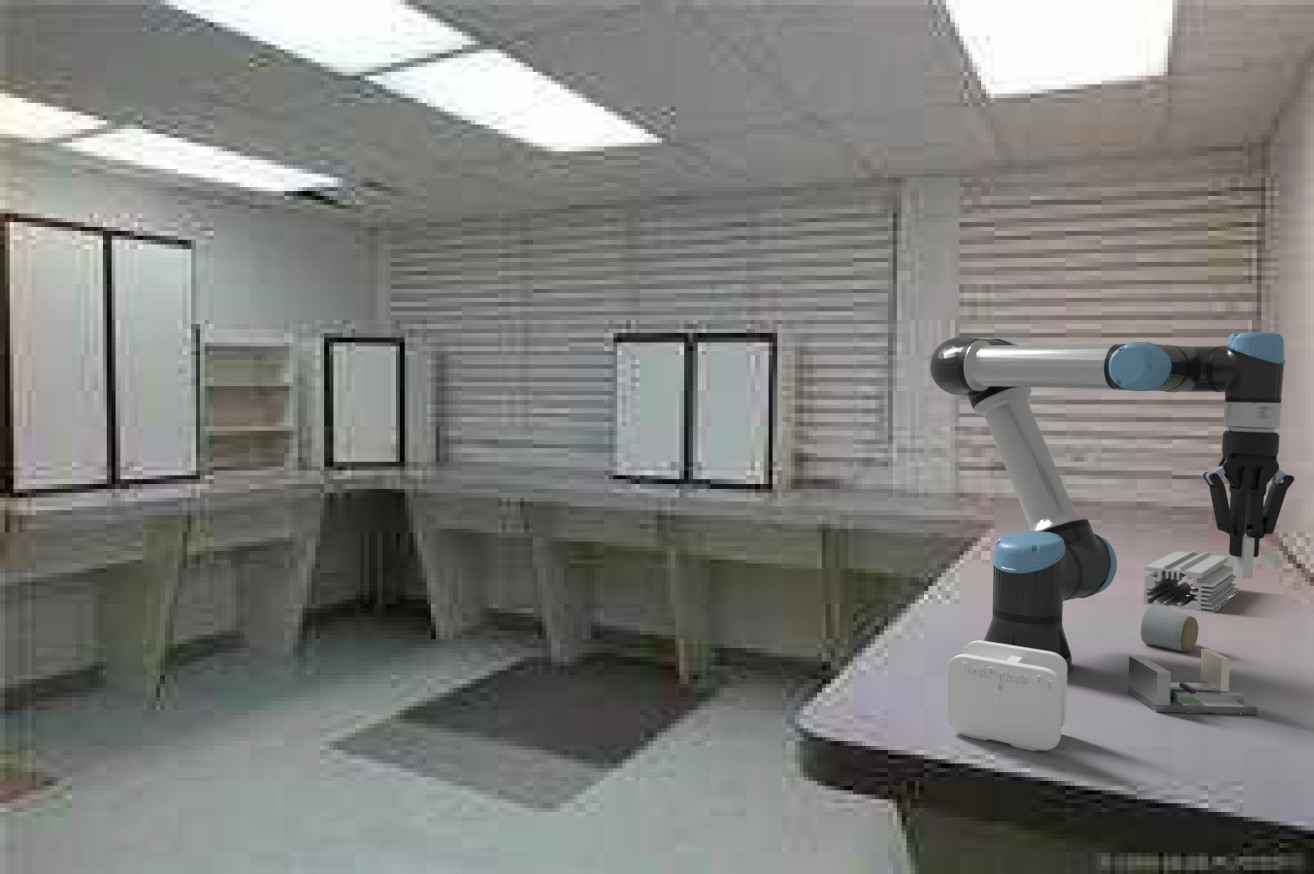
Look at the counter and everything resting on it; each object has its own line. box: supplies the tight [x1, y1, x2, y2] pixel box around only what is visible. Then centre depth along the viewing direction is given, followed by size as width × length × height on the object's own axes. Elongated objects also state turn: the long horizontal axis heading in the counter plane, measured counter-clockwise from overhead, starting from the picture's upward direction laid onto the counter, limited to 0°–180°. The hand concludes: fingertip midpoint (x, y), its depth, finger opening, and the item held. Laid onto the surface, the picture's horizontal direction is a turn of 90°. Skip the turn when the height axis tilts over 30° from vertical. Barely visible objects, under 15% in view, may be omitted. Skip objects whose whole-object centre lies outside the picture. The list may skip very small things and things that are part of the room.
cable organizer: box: [945, 639, 1068, 752], centre depth 126 cm, size 15×11×12 cm
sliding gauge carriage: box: [1170, 648, 1231, 696], centre depth 139 cm, size 8×7×6 cm
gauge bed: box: [1127, 655, 1259, 715], centre depth 140 cm, size 15×9×6 cm, turn 87°
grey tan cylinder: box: [1140, 605, 1199, 653], centre depth 173 cm, size 11×8×8 cm
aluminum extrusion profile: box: [1143, 549, 1239, 614], centre depth 218 cm, size 14×31×10 cm, turn 138°
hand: (1242, 576), depth 143 cm, fingers closed
